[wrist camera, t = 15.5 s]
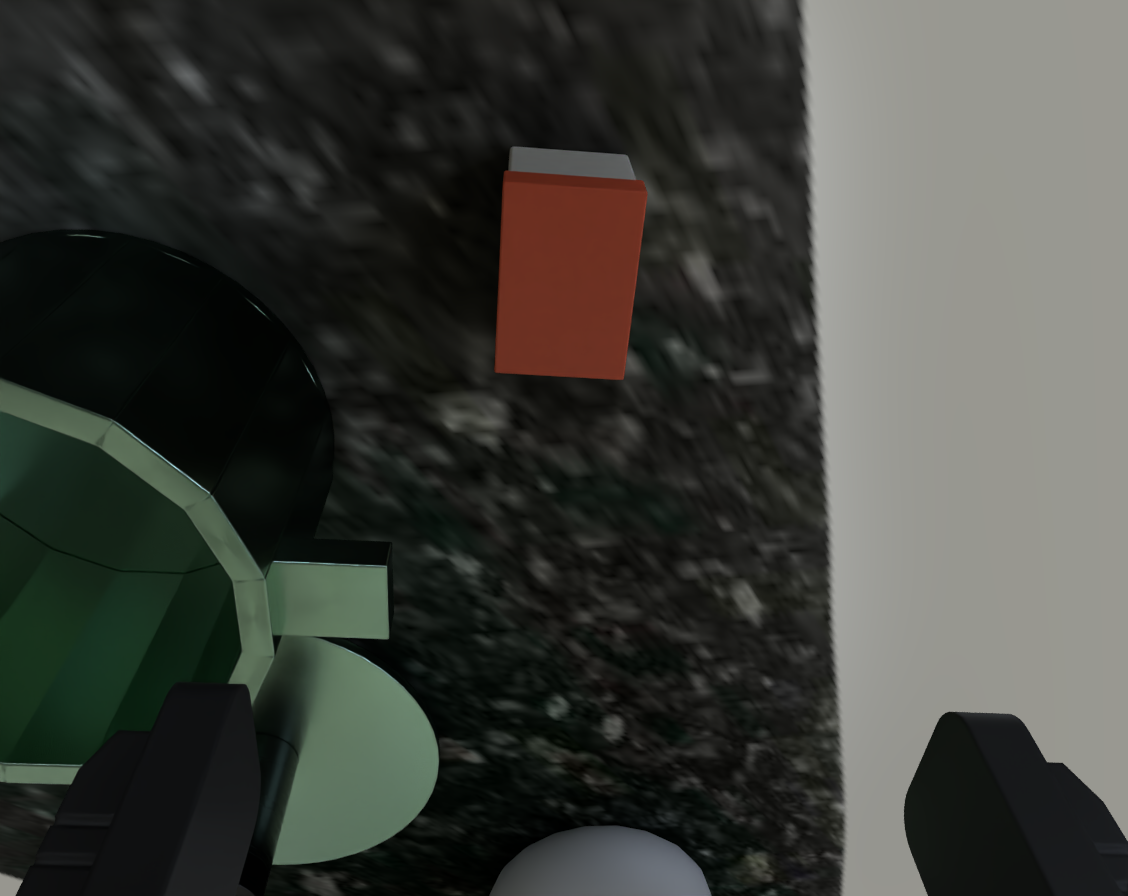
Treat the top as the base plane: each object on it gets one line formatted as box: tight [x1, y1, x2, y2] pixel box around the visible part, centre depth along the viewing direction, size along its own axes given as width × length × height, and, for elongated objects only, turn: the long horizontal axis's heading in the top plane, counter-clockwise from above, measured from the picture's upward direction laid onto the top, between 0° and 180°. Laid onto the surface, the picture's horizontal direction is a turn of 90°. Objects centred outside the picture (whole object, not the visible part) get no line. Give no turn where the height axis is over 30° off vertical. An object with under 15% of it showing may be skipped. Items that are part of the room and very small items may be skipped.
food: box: [494, 147, 648, 380], centre depth 24 cm, size 5×3×4 cm
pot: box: [0, 230, 394, 785], centre depth 25 cm, size 13×18×8 cm
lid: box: [235, 635, 440, 896], centre depth 33 cm, size 14×14×7 cm
